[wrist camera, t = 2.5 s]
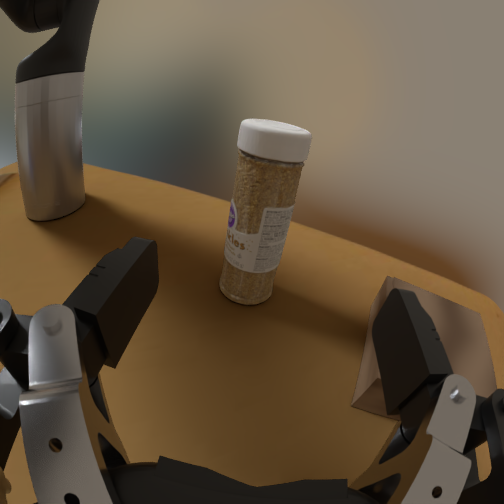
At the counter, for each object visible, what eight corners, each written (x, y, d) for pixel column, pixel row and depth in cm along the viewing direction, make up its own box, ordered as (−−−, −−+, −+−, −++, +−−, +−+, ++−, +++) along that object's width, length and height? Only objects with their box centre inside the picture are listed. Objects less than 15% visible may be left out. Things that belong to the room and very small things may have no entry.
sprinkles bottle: (210, 277, 24) (229, 115, 17) (255, 267, 26) (285, 120, 19) (234, 314, 21) (266, 128, 13) (283, 299, 23) (328, 136, 16)
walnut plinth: (350, 405, 15) (380, 373, 13) (371, 306, 24) (389, 272, 22) (467, 435, 12) (503, 408, 10) (460, 340, 21) (482, 311, 19)
